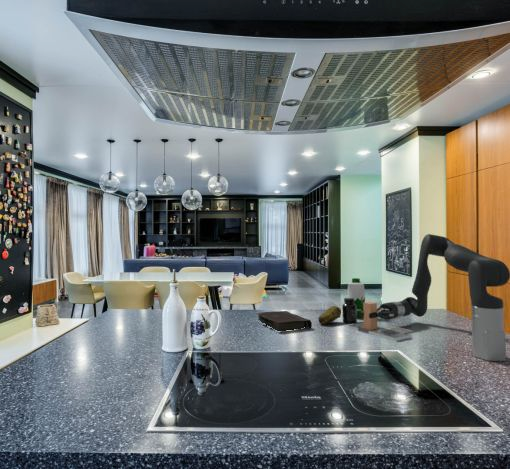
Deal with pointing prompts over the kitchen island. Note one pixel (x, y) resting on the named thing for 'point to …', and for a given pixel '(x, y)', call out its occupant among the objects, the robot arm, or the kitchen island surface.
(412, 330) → the pad
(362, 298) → the green and white bottle
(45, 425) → the kitchen island surface
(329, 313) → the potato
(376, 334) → the grey slotted base
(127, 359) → the kitchen island surface
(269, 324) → the diary
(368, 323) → the block
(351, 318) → the supplement bottle
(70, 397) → the kitchen island surface
